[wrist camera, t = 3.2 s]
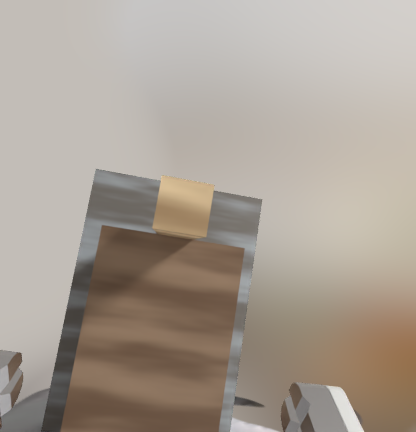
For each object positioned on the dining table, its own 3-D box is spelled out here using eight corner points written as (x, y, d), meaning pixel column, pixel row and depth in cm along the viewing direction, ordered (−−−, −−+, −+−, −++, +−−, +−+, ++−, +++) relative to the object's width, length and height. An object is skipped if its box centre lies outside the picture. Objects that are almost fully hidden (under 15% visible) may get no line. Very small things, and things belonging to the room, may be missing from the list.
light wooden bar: (211, 238, 17) (221, 175, 17) (146, 227, 16) (158, 163, 17) (190, 241, 32) (195, 209, 33) (157, 236, 32) (162, 203, 32)
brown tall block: (271, 592, 23) (320, 171, 27) (-64, 584, 20) (46, 116, 24) (224, 436, 42) (258, 201, 46) (47, 421, 39) (99, 172, 43)
